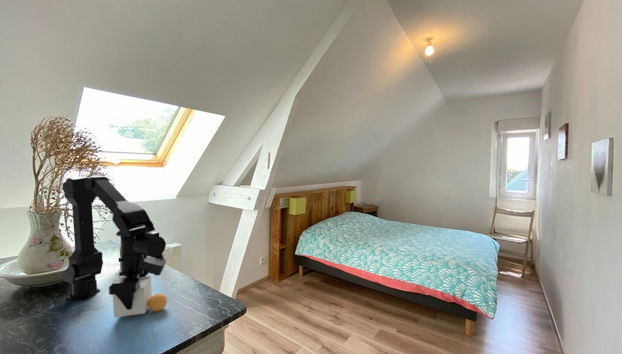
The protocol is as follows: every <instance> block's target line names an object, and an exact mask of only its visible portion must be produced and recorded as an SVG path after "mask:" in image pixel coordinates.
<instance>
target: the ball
mask: <svg viewBox="0 0 622 354" xmlns="http://www.w3.org/2000/svg"><path fill="white" fill-rule="evenodd" d="M167 303H168V300H167V297H166V295H164V294H163V293H156V294H154V295H152V297H151V298H150V300H149V303H148V309H149V310H150V311H152V312H160V311H162V310H164V308H165V307H166V305H167Z"/></svg>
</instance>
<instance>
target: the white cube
mask: <svg viewBox="0 0 622 354" xmlns="http://www.w3.org/2000/svg"><path fill="white" fill-rule="evenodd" d="M137 278H138V279H139V282H140V283H139V286H140V287H139V288H138V290H137V291H136V292H135V293H134V299H133V305H132V309H129V310H127V309H126V307H125V306H124V305H123V303H122V302H121V301H120V299H119V298H118V297H117V296H116V295H115V294H114V295H112V301H113V302H112V305H113V318H120V317H128V316H133V315H143V314H145V313H146V312H147V310H148V309H149V306H148V303H149V300H150V298H151V297H152V296H153V293H152V276H151V275H149V276H147V275H146V276H145V277H137Z"/></svg>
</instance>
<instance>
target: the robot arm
mask: <svg viewBox="0 0 622 354" xmlns="http://www.w3.org/2000/svg"><path fill="white" fill-rule="evenodd" d="M61 188H62V191H63V195H64V198H65V199H66V201H68V202H69V204H70V205H71V208H72V220H73V221H72V222H73V235H74V236H73V238H74V250H73V252H72V253H71V255H70V257H69V259H68V266H67V268H65V270H64V272H63V273H62V278H63V282H66V283H69V293H70V294H69V295H68V296H66V297H65V300H75V301H85V300H88V299H89V298H90V297H92V296H94V295H95V294H97V293H99V292H100V291H101V289H100V288H98V283H97V282H98V281H97V280H96V279H97V278H96V276H97V275H100V274H101V273H102V269H103V266H104V265H103V264H104V260H103V252H102V251H99V250H98V249H97V248H96V246H95V237H94V236H95V234H94V233H95V232H94V219H93V216H94V215H93V203H94V202H95V200H96V199H97V198H98V199H99V200H100V201H101V203H103V204H104V206H105V207H106V208H107V209H108V210H109V211H110V212H111V213H112V222H113V223H114V226H115V227H116V228H117V229H118V231H117V232H116V233H115V235H116V236H117V237H120V246H121V257H120V256H119V257H118V263H120V262H121V268H122V270H121V269H120V271H118V276H119V277H118V278H116V279H115V280H114V281H113V282H112V283H111V285H110V286H109V287H108V294H109V295H111V296H113V295H114V294H115V295H116V296H117V297H118V298H119V299H120V301H121V302H122V303H123V305H124V306H125V307H126V309H127V310H129V309H132V305H133V299H134V293H135V292H136V291H137V290H138V288H139V287H140V286H139V283H140V282H139V279H138V278H137V277H147V275H148V274H152V275H154V276H160V275H162V272H163V271H164V268H165V266H166V262H167V259H166V258H165V256H164V251H165V249H166V245H167V243H166V240H165V239H164V238H163V237H162V236H160V232H157V231H156V228H155V227H154V223H153V221H151V217H150V216H149V215H148V212H147V211H146V210H145V209H144V208H142V207H141V206H140V205H138V204H135V203H134V202H130V201H128V200H127V199H126V198H125V197H124V196H123V195H122V194H121V192H120V191H119V190H118V189H117V188H116V187H115V186H114V185H113V184H112V183H111V182H110V181H109V178H108V176H106V175H105V176H104V175H90V176H87V177H86V176H85V177H68V178H67V179H65V181H64V182H63V183H62V187H61ZM82 223H83V224H82ZM154 231H155V232H154ZM120 276H121V277H120ZM122 276H124V277H122Z"/></svg>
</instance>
